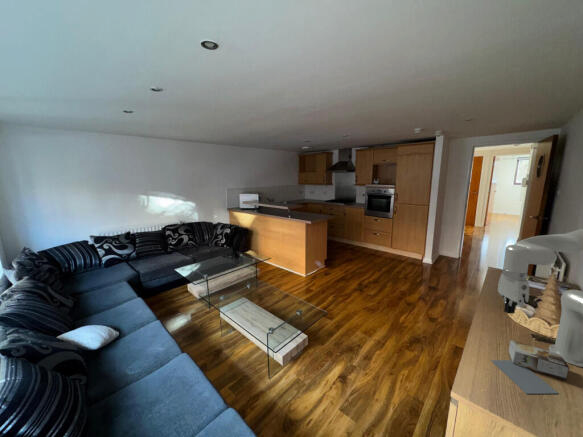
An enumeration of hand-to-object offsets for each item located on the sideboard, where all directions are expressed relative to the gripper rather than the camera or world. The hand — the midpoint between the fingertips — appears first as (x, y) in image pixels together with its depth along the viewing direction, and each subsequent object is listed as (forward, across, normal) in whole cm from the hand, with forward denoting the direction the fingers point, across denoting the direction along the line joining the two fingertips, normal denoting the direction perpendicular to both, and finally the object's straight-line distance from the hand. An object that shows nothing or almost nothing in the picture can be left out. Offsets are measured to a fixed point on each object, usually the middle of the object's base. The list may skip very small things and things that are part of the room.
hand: (509, 312), depth 102 cm
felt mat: (+22, -11, +2) cm, 25 cm away
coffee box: (+19, -1, -2) cm, 19 cm away
